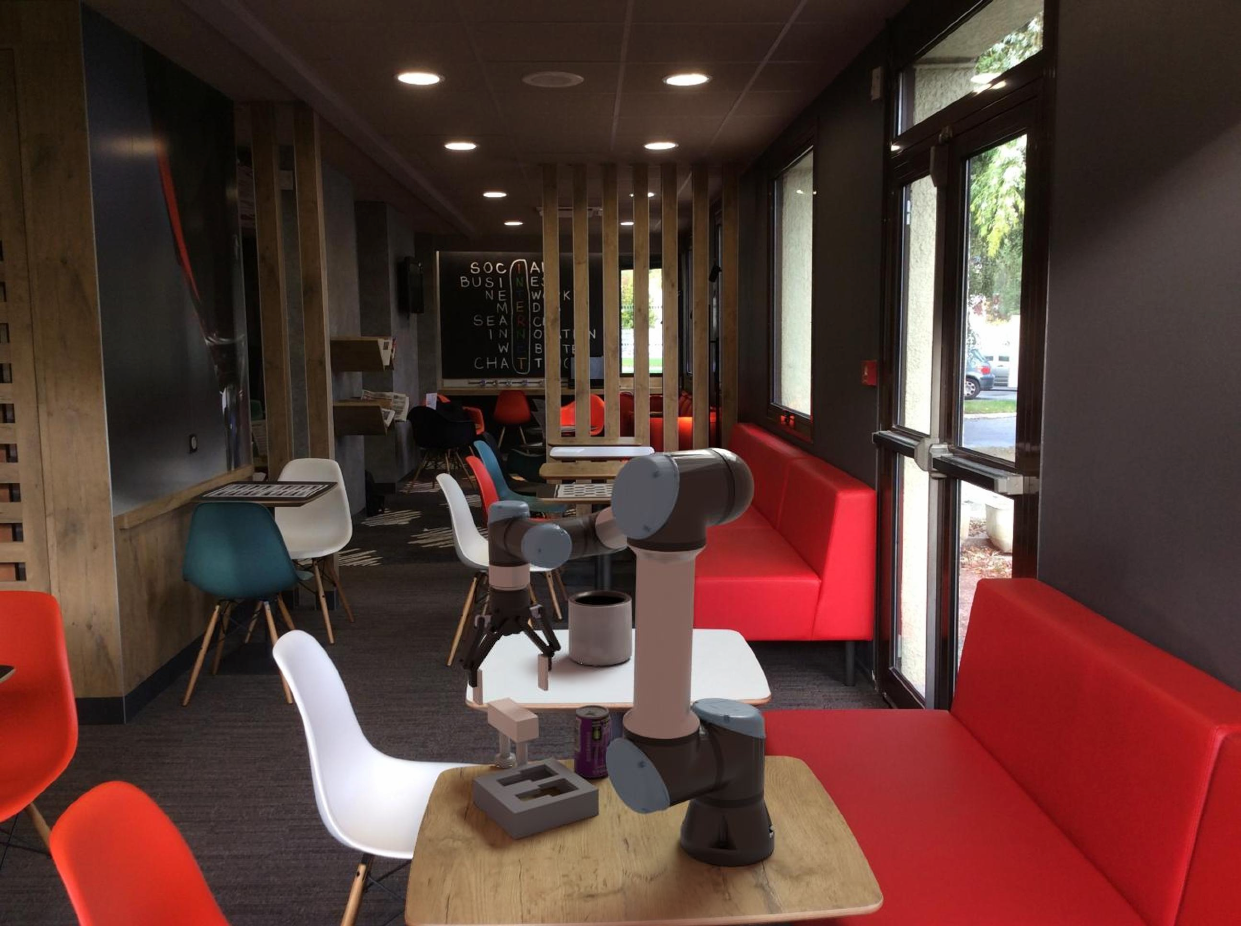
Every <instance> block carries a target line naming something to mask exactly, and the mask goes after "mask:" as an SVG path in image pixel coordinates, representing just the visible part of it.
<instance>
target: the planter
mask: <svg viewBox="0 0 1241 926" xmlns="http://www.w3.org/2000/svg"><path fill="white" fill-rule="evenodd" d="M632 607H633V606H632V597H631V596H630V595H629V594H627V593H624V592H622V591H616V590H606V589H603V590H597V589H596V590H586V591H580V592H577V593H574V594H572V595H570V596H568V656H569V658H570V659H572V661H574V662H575V663H577V662H578V663H577V664H580V663H582V664H581V665H583V664H587V665H586V666H589V665H597V666H596V667H605V666H604V665H610V666H614V665H613V664H616V665H619V664H618V663H620V664H622V662H623V663H624V661H625V662H626V661H628V660H629V659H630V658H631V657H632V655H633V620H632V619H633V616H632V613H633V612H632V611H633V609H632Z"/></svg>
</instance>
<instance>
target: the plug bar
mask: <svg viewBox="0 0 1241 926" xmlns="http://www.w3.org/2000/svg"><path fill="white" fill-rule="evenodd" d="M486 704H487V723H488V724H490V725H491V726H492V727H493V728H495V729H496V730H498V735H499V739H498V740H499V753H497V754H495V755H494V766H495V767H496V766H499V767H497V768H498V769H510V768H514V767H517V766H521V765H525V764H528V741H530V740H534V739H538V738H540V737H539V734H540V731H539V729H540V728H539V727H540V726H539V716H538V715H537V714H535V713H533V712H532V711H531V710H529V709H527V708H526V707H525V706H522V705H521V704H519V703H518V702H517V701H515V700H513V699H511V698H510V697H504V698H500V699H495V700H491V701H487V703H486ZM511 740H512V741H513V742H515V747H516V748H515V750H516V751H515V752H516V753H513V752H511ZM510 765H515V766H510Z"/></svg>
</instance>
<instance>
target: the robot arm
mask: <svg viewBox="0 0 1241 926" xmlns="http://www.w3.org/2000/svg"><path fill="white" fill-rule="evenodd" d="M754 481H755V480H754V476H753V474H752V472H751V469H750V467H749V466H748V464H747V463H746V462H745V461H744V459H743V458H741V457H740V456H739V455H737V454H736V453H734V452H732V451H730V450H728V449H723V448H718V447H708V448H707V447H705V448H698V449H697V448H696V449H687V450H676V451H675V450H674V451H665V452H664V451H662V452H659V451H658V452H657V451H656V452H655V451H654V452H652V453H649V454H646V455H645V454H644V455H640V456H636V457H633V458H631V459H630V460H628V461H626V463H624V466H623V467H621V468H620V469H619V471H618V472H617V474H616V475H615V478H614V480H613V484H612V488H611V493H610V506H608V507H606V508H604V509H601V510H598V511H596V512H593V513H589V514H583V515H576V516H568V517H567V516H566V517H561V518H560V517H559V518H552V519H546V520H538V519H534V518H531V513H530V507H529V505H528V503H527V502H525V501H522V500H511V499H510V500H500V501H495V502H492V503H491V504H490V505H489V507H488V511H487V512H488V513H487V524H486V525H487V526H486V527H487V548H488V549H487V550H488V552H487V553H488V583H489V584H490V587H489V588H488V601H489V603H488V604H489V612H488V615H481V614H478V613H475V614H474V615H473V619H472V620H473V621H472V627H471V629H470V632H469V635H468V637H467V639H466V642H465V644H464V645H463V649H462V651H461V653H460V655H459V658H458V661H457V665H458V666H459V667H461V669H463V670H467V684H468V685H469V687H471V688H472V702H474V703H475V704H476V705H477V706H483V705H484V693H483V692H484V691H483V687H484V686H483V685H484V684H483V670H482V669H481V668H480V667H481V665H482V664H483V663H484V661H485V659H486V658H487V657H488V655H489V654H490V653H491V651H492V649H493V648H494V646H495V644H497V642H498V641H500V640H501V638H502V637H505V638H506V637H509V636H512V635H520V634H521V633H523V634H525V635H526V636H527V638H528V639H529V640H530V641H532V643H533V644H534V645H535V646H536V647H537V648H538V650H540V652H541V653H538V654H537V687H538V688H539V689H541V690H542V691H544V692H546V691H547V692H548V691H549V673H550V672H552V669H553V667H552V665H553V658H554V657H555V654H556V652H560V651H561V650H562V646H561V644H560V642H559V640H558V637H557V636H556V634H555V632H554V629H553V628H552V625H551V624H550V622H549V620H548V618H547V611H546V607H545V606H543V605H541V604H539V603H536V604H534V606H532V607H530V606H531V605H530V604H531V587H530V585H529V584H530V583H531V567H530V566H531V565H533V566H535V567H538V568H540V569H541V568H543V569H544V568H545V569H548V570H549V569H550V570H552V569H553V570H554V569H557V568H560V567H561V566H562V565H563V564H565V563H566V562H567V561H568V560H576V559H580V558H585V557H592V556H593V557H594V556H599V555H609V554H614V553H617V552H620V551H624V550H625V549H627V548H628V547H629V548H630V549H631V551H633V553H634V554H635V555H636V567H635V568H636V569H635V570H636V572H635V576H636V578H635V579H636V580H635V615H634V616H635V621H634V622H635V623H634V653H633V655H634V658H633V659H634V660H633V662H634V663H633V664H634V665H633V666H634V667H633V697H632V699H633V700H632V702H633V703H632V705H633V707H631V709H629V710H628V711H627V712H626V713H625V714H624V715H623V718H622V737H615V738H614V740H613V741H612V742H611V744H610V745H609V746H608V748H607V752H606V766H607V771H608V773H607V774H608V778H609V781H610V783H611V785H612V787H613V789H614V791H615V792H616V794H617V796H618V798H619V799H620V800H621V802H622V803H623V804H624V805H625V806H626V807H628V808H629V809H630V810H632V811H633V812H634V813H637V814H640V815H649V814H653V813H655V812H659V811H661V812H664V811H667V810H668V809H669V808H672V807H674V806H678V805H680V804H682V803H685V802H688V801H689V802H688V806H687V809H686V812H685V816H684V818H683V820H682V822H681V824H680V829H679V831H680V833H679V835H680V840H679V841H680V846H681V848H682V849H683V851H684V852H685V853H687V855H689V856H690V857H692V858H694V859H696V860H699V861H701V862H704V863H708V864H710V865H715V866H725V867H726V866H727V867H737V866H747V865H750V864H751V865H752V864H754V863H758V862H761V861H762V860H765V859H766V858H767V857H770V855H771V854H772V853H773V851H774V849H775V841H776V840H775V834H776V833H775V829H774V825H773V823H772V822H773V821H772V818H771V816H770V813H769V809H768V806H767V803H766V800H765V767H766V766H765V764H766V763H765V762H766V760H765V759H766V755H765V754H766V738H767V735H766V732H765V718H764V715H763V713H762V712H761V711H760V710H759V709H758V708H757V707H755V706H753V705H751V704H749V703H746V702H744V701H739V700H735V699H729V698H722V697H708V698H701V699H697V700H695V701H694V702H692V701H691V697H692V670H693V668H692V667H693V666H692V665H693V638H694V637H693V635H694V611H695V610H694V607H695V606H694V605H695V604H694V603H695V583H696V582H695V577H696V576H695V575H696V574H695V573H696V557H697V556H698V555H699V554H700V553H702V551H703V550H704V549H705V548H707V533H708V532H707V529H708V528H709V527H715V526H716V527H717V526H720V525H725V524H728V523H730V522H733V521H735V520H736V519H738V518H740V517H741V516H742V515H743V514H744V513H745V512H746V511H747V510H748V508H749V507H750V505H751V503H752V500H753V498H754V493H755V482H754ZM531 617H533V618H535V620H536V622H537V624H538V626H539V628H540V630H541V632H542V634H543V636H544V638H545V640H546V641H547V643H546V642H545V641H544V640H543V639H542V638H541V637H540V635H539V634H538V633H537V632H536V631H535V630H534V628H533V627H532V626H531V625H530V624H529V623H528V622H529V621H530V620H531ZM488 624H490V626H489V628H488V629H487V631H486V635H485V636H484V637H483V634H484V631H485V628H487V626H488ZM482 638H483V639H482ZM481 639H482V640H481ZM691 702H692V705H691Z"/></svg>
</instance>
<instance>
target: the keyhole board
mask: <svg viewBox="0 0 1241 926" xmlns="http://www.w3.org/2000/svg"><path fill="white" fill-rule="evenodd" d="M516 766H517V765H516ZM513 767H514V768H513ZM513 767H511V768H505V769H503V770H499V771H494V772H491V773H487V774H483V775H480V776H475V777H473V778H472V800H473V804H474V805H476V806H477V807H478V808H479V809H480V810H481V811H482V812H484V814H486V816H488V817H489V818H490V819H491V820H492V821H494V823H496V824H497V825H498V826H499V827H500V828H502V830H503V831H505V833H507V834H508V835H509V836H510V837H512V838H513V839H514V840H518V839H522V838H525V837H528V836H531V835H535V834H539V833H542V832H545V831H548V830H552V829H554V828H557V827H561V826H565V825H567V824H571V823H575V822H577V821H580V820H584V819H588V818H591V817H593V816H594V817H595V816H598V815H600V814H599V813H600V811H599V809H600V807H599V805H600V804H599V799H600V798H599V795H600V794H599V789H598V788H597V787H596V786H594V785H593V784H591V783H590V782H589V781H587V780H586V779H584V778H583V776H581V775H580V774H578V773H576V772H575V771H574V770H571V769H570V768H569V767H568V766H566V765H565V764H563V762H560V761H559V760H558V759H556V758H554V757H549V758H544V759H541V760H537V761H533V762H530V763H527V764H525V765H521V766H517V767H515V766H513ZM551 787H554V788H556V789H557V790H559V791H560V792H561V794H558V795H554V796H552V795H550V794H546V795H543V796H540V797H535V798H532V799H529V800H526V801H522V800H521V799H524V798H528V797H531V796H535V795H539V794H541V790H545V789H548V788H551Z"/></svg>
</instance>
